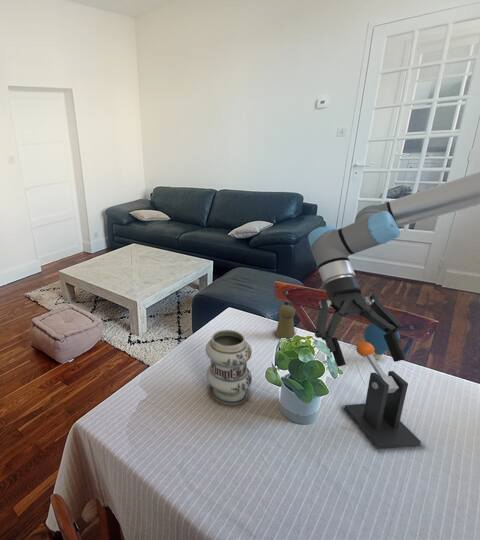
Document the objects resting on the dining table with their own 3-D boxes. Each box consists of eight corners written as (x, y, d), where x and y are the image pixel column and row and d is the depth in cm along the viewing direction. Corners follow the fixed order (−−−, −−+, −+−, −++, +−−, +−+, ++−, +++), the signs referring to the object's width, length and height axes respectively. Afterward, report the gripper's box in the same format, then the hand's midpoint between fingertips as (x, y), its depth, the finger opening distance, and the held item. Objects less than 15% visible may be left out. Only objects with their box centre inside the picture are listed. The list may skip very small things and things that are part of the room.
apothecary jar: (218, 373, 103) (217, 321, 97) (258, 388, 95) (260, 333, 89) (198, 396, 95) (196, 341, 88) (240, 414, 87) (241, 356, 81)
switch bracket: (344, 408, 85) (350, 363, 80) (380, 405, 85) (389, 359, 80) (377, 449, 74) (388, 398, 69) (420, 445, 73) (433, 395, 69)
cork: (279, 328, 122) (281, 301, 118) (297, 333, 118) (299, 305, 114) (272, 336, 118) (274, 308, 114) (290, 341, 114) (293, 312, 110)
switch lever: (350, 347, 84) (356, 339, 81) (365, 346, 84) (371, 338, 81) (379, 394, 75) (386, 387, 73) (395, 393, 75) (403, 386, 73)
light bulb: (373, 347, 106) (379, 314, 102) (402, 361, 99) (409, 326, 94) (353, 355, 104) (359, 321, 99) (382, 370, 96) (389, 334, 92)
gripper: (378, 281, 92) (413, 361, 83) (286, 290, 93) (310, 369, 84) (397, 270, 85) (436, 355, 76) (297, 280, 86) (324, 365, 77)
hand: (370, 363), depth 80 cm, fingers open, 13 cm apart
